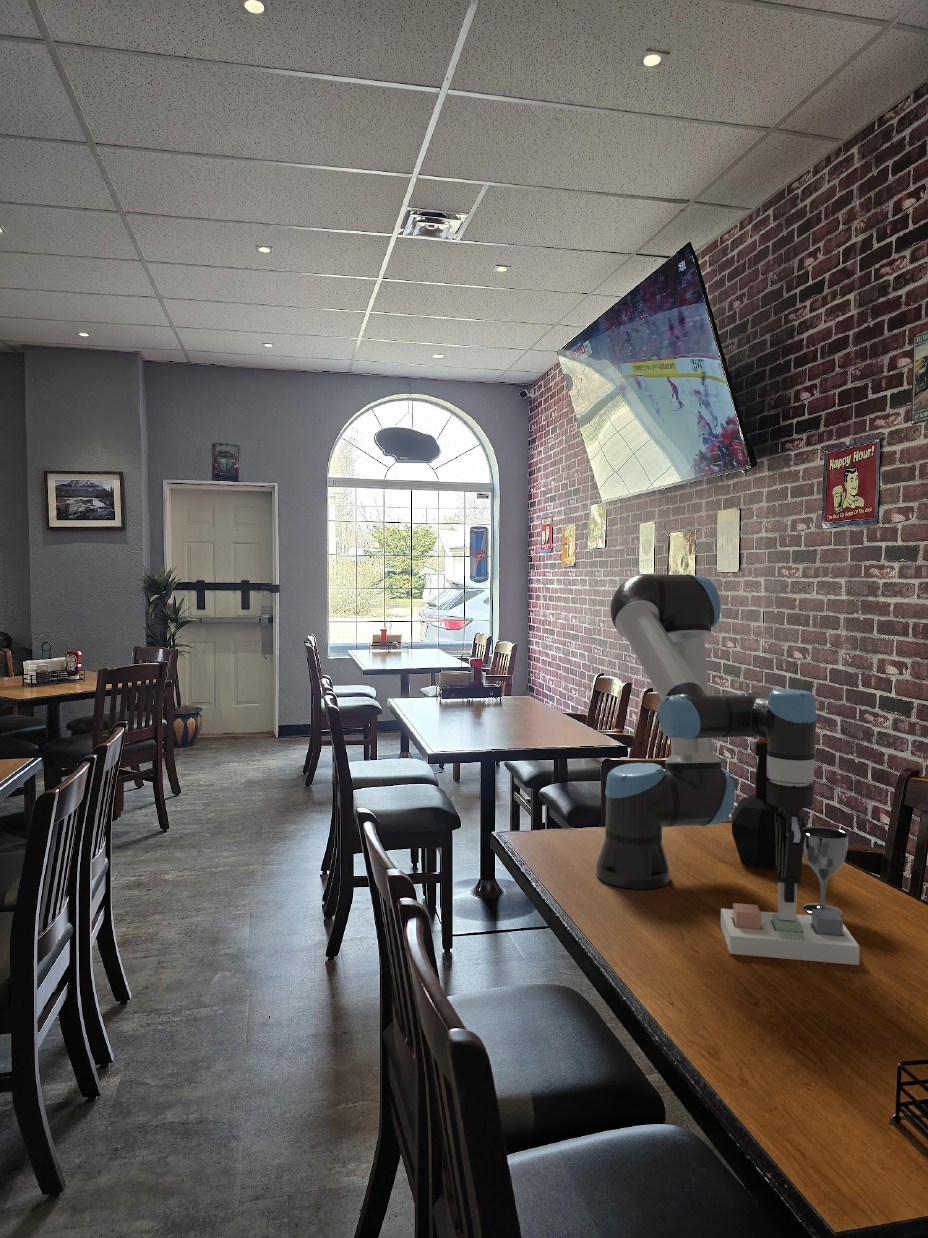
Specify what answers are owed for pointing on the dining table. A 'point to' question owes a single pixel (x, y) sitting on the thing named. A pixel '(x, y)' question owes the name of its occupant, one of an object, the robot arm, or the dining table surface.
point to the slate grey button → (827, 922)
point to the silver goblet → (824, 858)
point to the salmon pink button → (746, 916)
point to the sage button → (786, 924)
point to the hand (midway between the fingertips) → (786, 918)
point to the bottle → (756, 819)
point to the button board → (789, 941)
